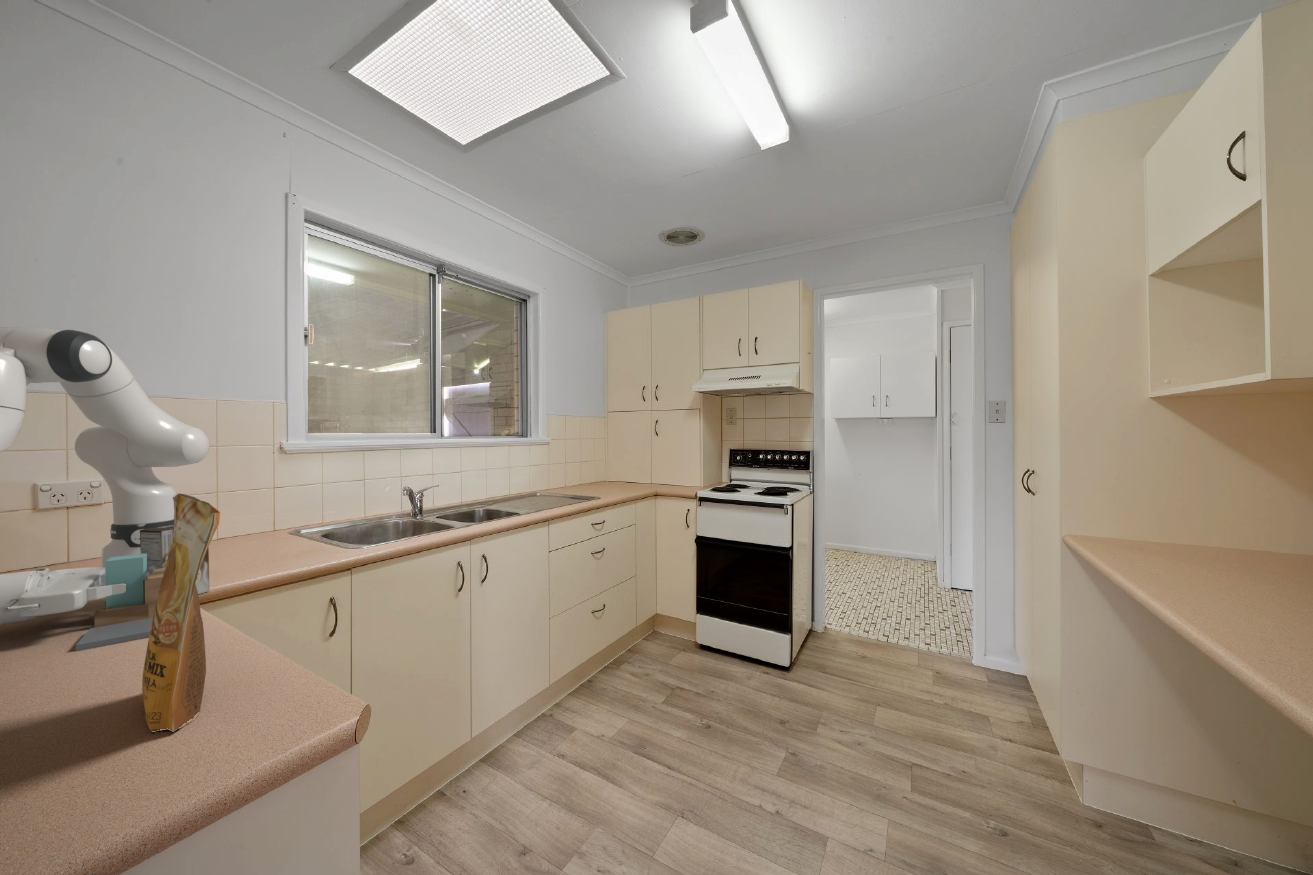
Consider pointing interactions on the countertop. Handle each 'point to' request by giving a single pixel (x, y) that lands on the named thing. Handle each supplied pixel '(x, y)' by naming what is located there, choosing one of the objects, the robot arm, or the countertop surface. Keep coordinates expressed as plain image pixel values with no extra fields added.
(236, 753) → the countertop surface
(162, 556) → the coffee box
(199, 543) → the pancake mix bag
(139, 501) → the robot arm
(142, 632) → the pad
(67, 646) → the countertop surface
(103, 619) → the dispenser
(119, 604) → the tall teal pillar
